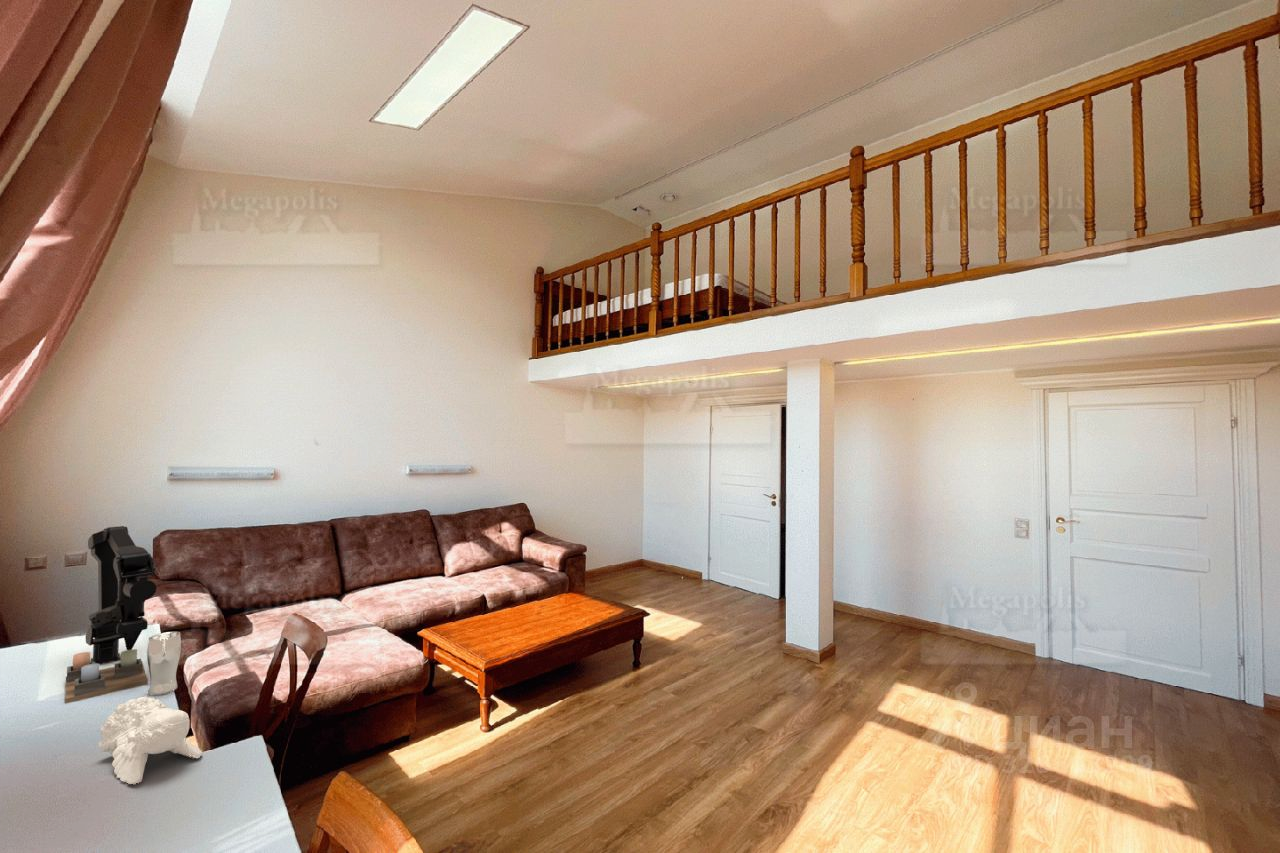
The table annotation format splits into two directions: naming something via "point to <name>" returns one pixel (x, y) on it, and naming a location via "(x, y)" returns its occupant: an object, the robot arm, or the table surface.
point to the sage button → (128, 658)
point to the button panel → (104, 681)
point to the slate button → (90, 673)
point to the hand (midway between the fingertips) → (129, 649)
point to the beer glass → (163, 662)
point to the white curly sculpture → (143, 735)
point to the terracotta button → (81, 660)
